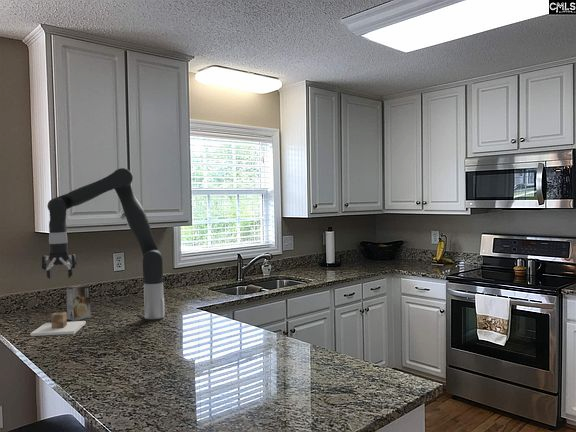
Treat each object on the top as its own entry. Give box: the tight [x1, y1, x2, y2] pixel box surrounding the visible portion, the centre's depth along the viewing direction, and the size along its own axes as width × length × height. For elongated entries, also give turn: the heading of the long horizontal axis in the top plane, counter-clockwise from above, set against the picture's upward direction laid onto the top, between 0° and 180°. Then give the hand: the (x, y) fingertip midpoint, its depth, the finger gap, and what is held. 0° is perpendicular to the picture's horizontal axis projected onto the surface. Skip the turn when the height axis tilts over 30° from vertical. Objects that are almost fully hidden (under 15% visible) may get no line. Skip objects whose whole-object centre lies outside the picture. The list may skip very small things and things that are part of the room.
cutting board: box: [30, 320, 87, 337], centre depth 217 cm, size 18×18×1 cm
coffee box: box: [65, 284, 92, 322], centre depth 237 cm, size 9×6×16 cm
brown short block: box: [50, 311, 68, 329], centre depth 217 cm, size 5×5×6 cm
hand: (59, 277), depth 217 cm, fingers open, 8 cm apart
